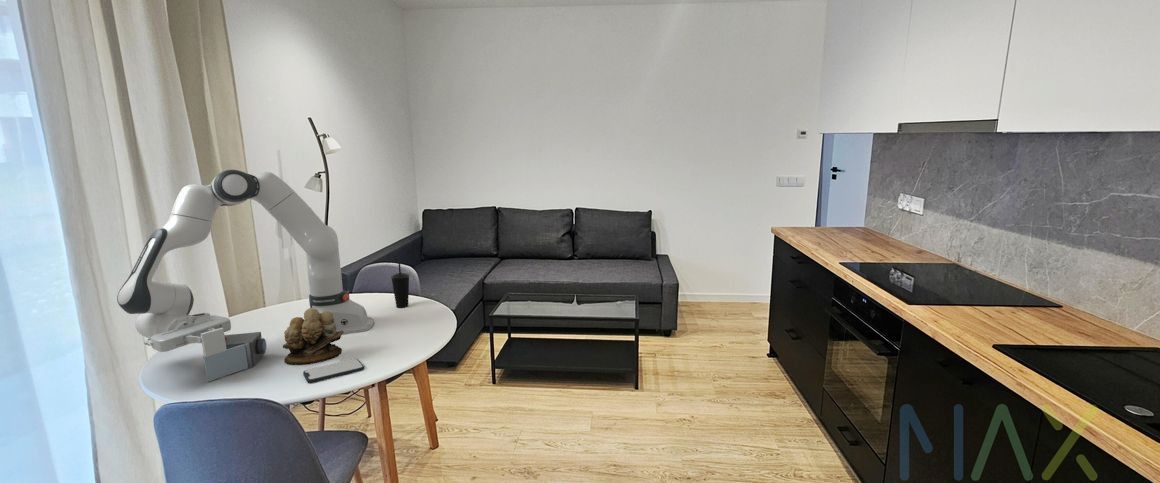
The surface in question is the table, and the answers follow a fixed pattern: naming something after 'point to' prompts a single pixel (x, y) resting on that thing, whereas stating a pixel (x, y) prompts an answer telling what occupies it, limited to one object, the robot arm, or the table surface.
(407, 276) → the drinking cup
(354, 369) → the phone case
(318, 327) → the owl figurine
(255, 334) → the camera body
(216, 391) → the table surface
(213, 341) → the side door
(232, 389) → the table surface
